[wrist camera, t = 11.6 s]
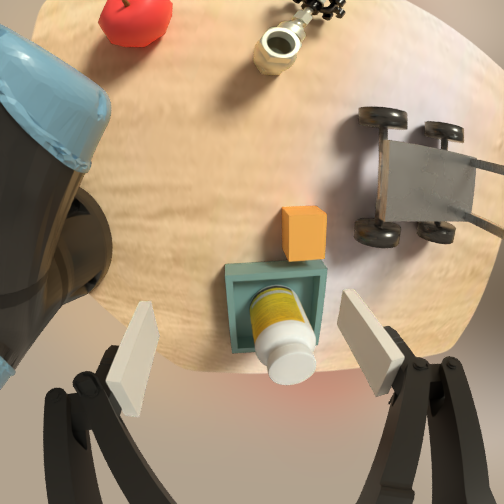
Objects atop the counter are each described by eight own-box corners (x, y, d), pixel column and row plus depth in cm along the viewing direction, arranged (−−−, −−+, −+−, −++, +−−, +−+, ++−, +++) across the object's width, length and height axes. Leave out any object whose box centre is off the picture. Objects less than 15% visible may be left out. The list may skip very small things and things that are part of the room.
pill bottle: (240, 294, 34) (247, 361, 23) (289, 274, 33) (316, 334, 22) (260, 331, 36) (272, 398, 25) (304, 313, 36) (331, 375, 25)
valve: (286, 91, 26) (335, 23, 22) (302, 77, 20) (357, 2, 16) (234, 62, 24) (287, -4, 21) (235, 41, 18) (300, -31, 14)
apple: (175, -6, 19) (163, -39, 12) (181, 44, 22) (168, 15, 15) (112, 14, 19) (86, -11, 12) (115, 64, 22) (84, 45, 15)
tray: (231, 339, 37) (232, 353, 34) (225, 264, 33) (224, 275, 30) (312, 331, 38) (317, 345, 35) (319, 258, 33) (327, 268, 31)
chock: (282, 248, 33) (288, 261, 29) (281, 206, 31) (289, 215, 27) (314, 245, 33) (324, 258, 29) (315, 205, 31) (327, 214, 27)
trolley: (346, 232, 32) (434, 311, 16) (350, 109, 27) (462, 93, 10) (436, 229, 33) (523, 284, 17) (444, 128, 28) (546, 142, 11)
